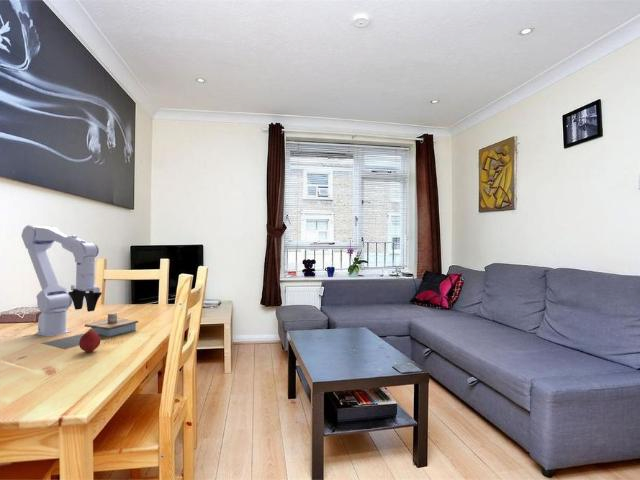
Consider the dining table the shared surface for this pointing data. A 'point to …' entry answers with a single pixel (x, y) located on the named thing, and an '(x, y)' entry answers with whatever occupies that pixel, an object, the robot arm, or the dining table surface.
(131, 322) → the lid
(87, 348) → the onion
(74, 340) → the mat
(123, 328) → the light blue tray
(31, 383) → the dining table surface
